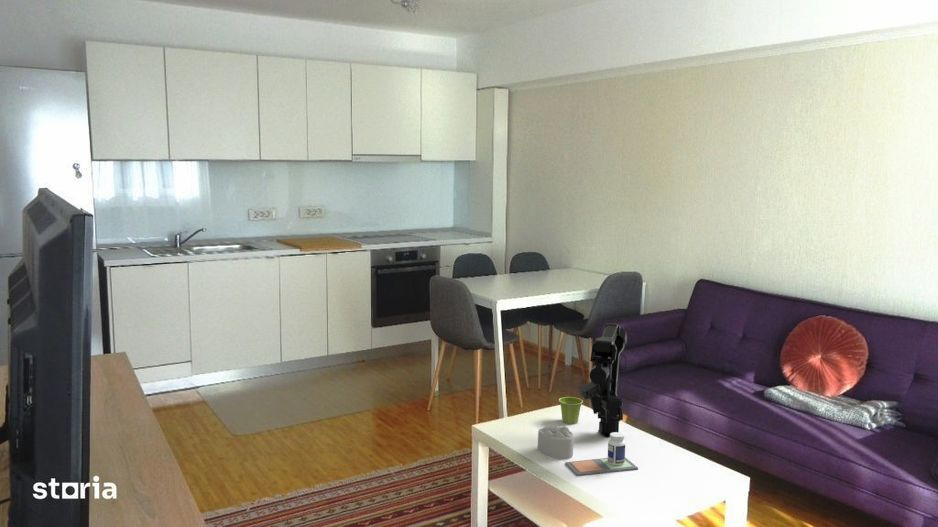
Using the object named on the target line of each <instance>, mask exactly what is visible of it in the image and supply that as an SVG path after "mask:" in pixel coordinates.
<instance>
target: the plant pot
mask: <svg viewBox="0 0 938 527" xmlns="http://www.w3.org/2000/svg"><path fill="white" fill-rule="evenodd" d="M558 402H559V404H560V411H561V420H562V422H563V423H565V424H568V425H574V424H577V423H578V422H579V417H580V412H581V407H582V404H583V402H584V400H583V399H581V398H578V397H573V396H565V397H564V396H563V397H560V398H559V399H558Z"/></svg>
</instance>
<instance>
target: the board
mask: <svg viewBox="0 0 938 527" xmlns="http://www.w3.org/2000/svg"><path fill="white" fill-rule="evenodd" d="M564 464H565V465H566V467H567V468H569V469H570V470H571V471H572V473H574V474H575V475H576V476H577V477H581V476H591V475H598V474H606V473H607V474H609V473H617V472H619V473H620V472H626V471H635V470H639V467H637V465H636V464H635V463H633V462H632V461H631V460H629V459H628V458H627V457H626V456H625V463H624V464H623V465H612V464H610V463H608V457H604V458H594V459H584V460H583V459H582V460H575V461H565V462H564Z"/></svg>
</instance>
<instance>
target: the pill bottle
mask: <svg viewBox="0 0 938 527" xmlns="http://www.w3.org/2000/svg"><path fill="white" fill-rule="evenodd" d="M609 438H610V439H609V440H607V458H608V463H610V464H612V465H623V464H624V463H625V457H626V441H625V434H624V433H622V432H613V433H610V437H609Z"/></svg>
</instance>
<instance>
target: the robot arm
mask: <svg viewBox="0 0 938 527" xmlns="http://www.w3.org/2000/svg"><path fill="white" fill-rule="evenodd" d="M627 335H628V334H627V331H626V330H625V329H624V328H622V327H621V325H620V324H617V323H606V325H605V327H604V328H603V333H602V336H600V337H596V339H595V340H594V342H593V343H592V347H591V353H590V359H589V361H590V362H591V363H592V362H593V363H594V366H593V367H592V369H591V370H590V372H589V379H590V382H587V383H584V384H583V385H580V386H578V393H579V394H580V397H582V398H583V399H584V400H588V399H589V401H590V405H591V408H592V411H593V414H594V415H597V419H600V421H599V422H598V423H599V424H598V429H597V432H598V433H599V434H600V435H602V436H603V437H605V438H610V433H613V432H619V428H620V422H621V421H623V420H624V411H623V408H622V407H623V405H624V404H623V403H624V400H623V399H622V398H621V397H619V396H618V393H617V392H618V390H617V389H618V382H619V381H618V380H619V370H620V369H619V368H620V366H619V365H620V355H621V353H622V352H623V351H624V349H625V345H627V341H628V336H627ZM619 433H620V432H619Z"/></svg>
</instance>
